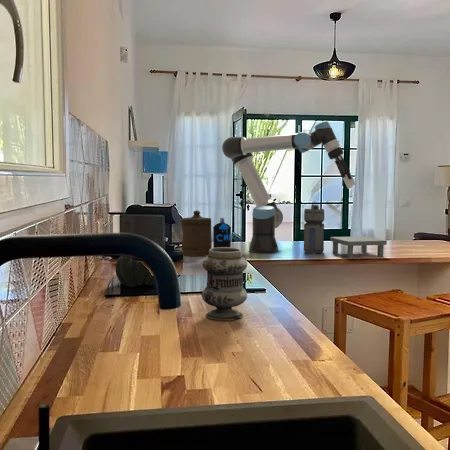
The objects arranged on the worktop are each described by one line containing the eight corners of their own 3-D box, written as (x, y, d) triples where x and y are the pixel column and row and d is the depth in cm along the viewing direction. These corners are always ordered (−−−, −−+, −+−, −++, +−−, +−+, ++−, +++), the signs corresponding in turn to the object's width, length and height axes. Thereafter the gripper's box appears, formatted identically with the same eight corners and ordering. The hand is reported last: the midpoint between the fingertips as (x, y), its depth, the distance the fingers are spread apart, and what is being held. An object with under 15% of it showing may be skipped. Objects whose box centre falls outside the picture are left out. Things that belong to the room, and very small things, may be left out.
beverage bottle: (325, 251, 252) (326, 203, 250) (321, 254, 240) (322, 204, 238) (306, 250, 256) (307, 203, 254) (301, 253, 244) (302, 204, 241)
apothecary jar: (226, 325, 120) (226, 253, 118) (192, 316, 128) (192, 249, 126) (256, 315, 129) (256, 248, 127) (222, 307, 137) (223, 244, 135)
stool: (348, 258, 228) (348, 241, 228) (330, 252, 248) (330, 237, 247) (386, 257, 233) (386, 240, 232) (365, 251, 252) (365, 236, 251)
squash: (163, 273, 160) (157, 236, 168) (117, 277, 156) (113, 239, 164) (159, 294, 171) (154, 259, 179) (116, 298, 167) (113, 262, 175)
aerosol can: (210, 261, 218) (210, 217, 216) (226, 260, 221) (226, 217, 220) (217, 264, 211) (217, 218, 209) (234, 263, 214) (234, 218, 212)
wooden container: (194, 251, 251) (194, 209, 249) (217, 254, 243) (217, 210, 241) (175, 255, 239) (175, 210, 237) (199, 257, 230) (199, 211, 229)
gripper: (342, 142, 236) (361, 180, 234) (338, 150, 261) (355, 185, 259) (328, 148, 237) (347, 187, 235) (325, 156, 262) (342, 191, 260)
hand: (351, 186), depth 247 cm, fingers open, 13 cm apart
